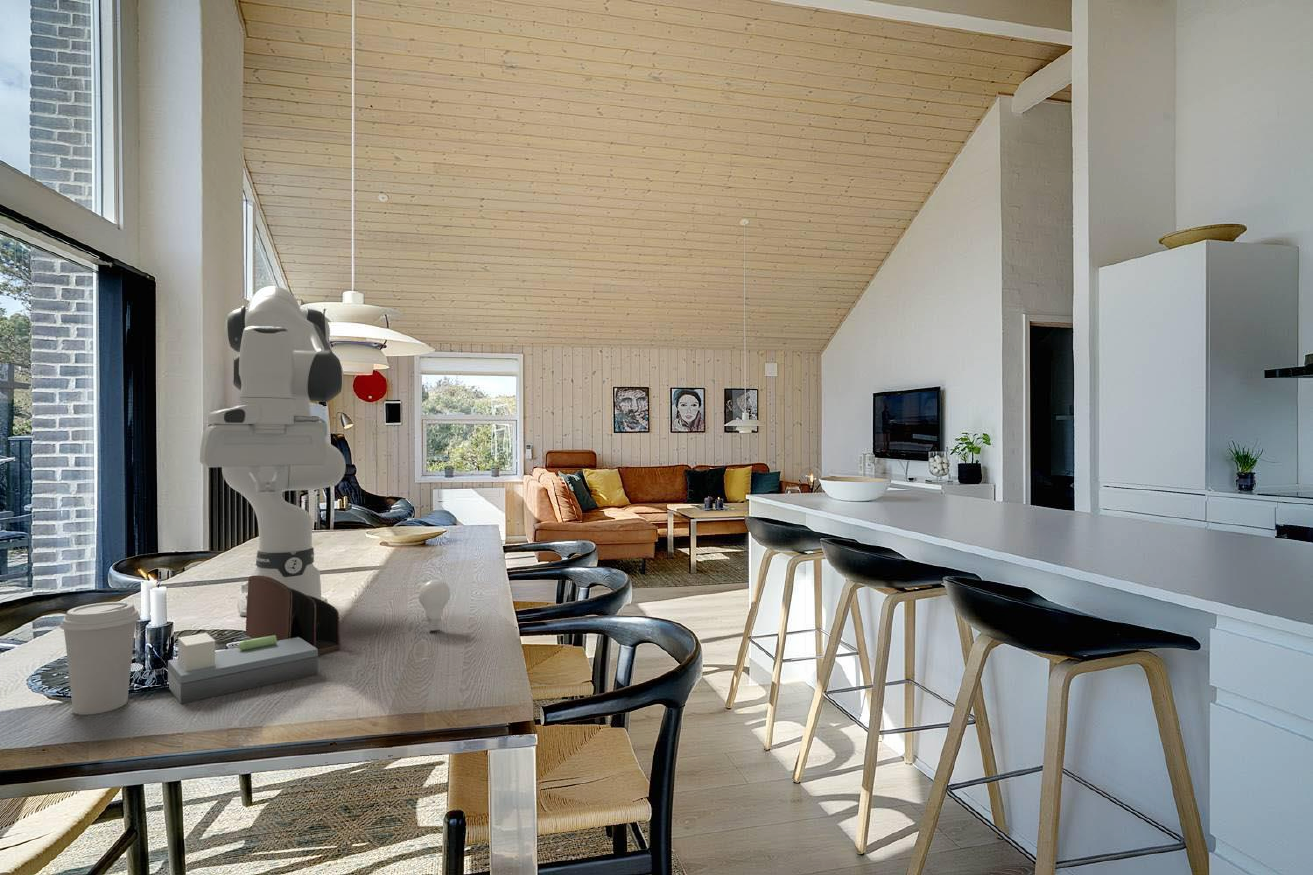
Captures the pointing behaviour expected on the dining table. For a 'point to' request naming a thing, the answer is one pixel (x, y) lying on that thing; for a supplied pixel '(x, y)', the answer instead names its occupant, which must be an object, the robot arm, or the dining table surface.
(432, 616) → the lightbulb
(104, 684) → the coffee cup
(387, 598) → the dining table surface
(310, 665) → the base
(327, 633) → the letter holder
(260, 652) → the tilted grey plate
